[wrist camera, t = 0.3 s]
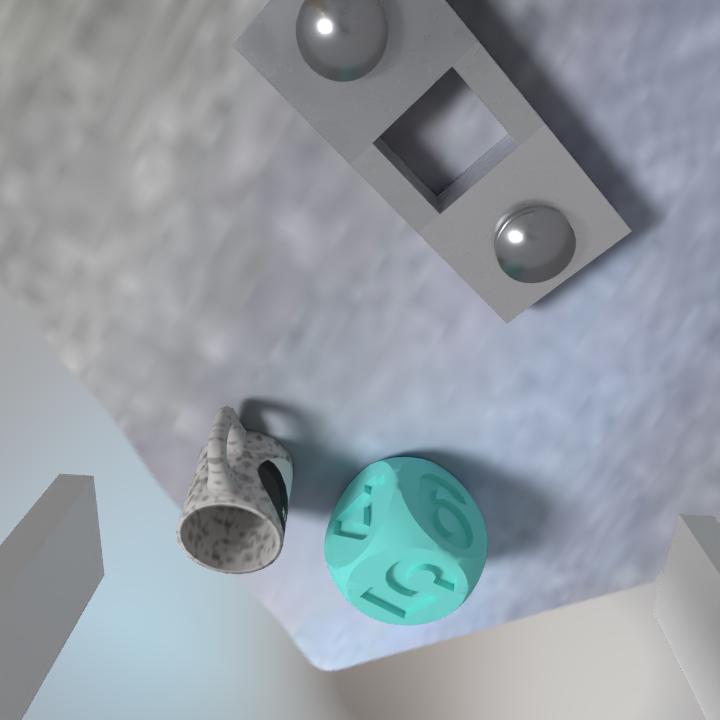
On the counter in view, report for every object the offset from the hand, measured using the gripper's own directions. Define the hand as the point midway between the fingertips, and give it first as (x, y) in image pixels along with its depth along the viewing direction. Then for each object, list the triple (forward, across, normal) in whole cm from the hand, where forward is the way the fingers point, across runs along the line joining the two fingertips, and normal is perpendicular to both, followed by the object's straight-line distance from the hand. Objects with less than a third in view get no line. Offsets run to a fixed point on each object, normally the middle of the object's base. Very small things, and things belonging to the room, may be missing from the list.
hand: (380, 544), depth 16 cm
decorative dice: (+30, +2, -18) cm, 35 cm away
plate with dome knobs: (+24, +2, +8) cm, 26 cm away
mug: (+29, -9, -14) cm, 33 cm away
